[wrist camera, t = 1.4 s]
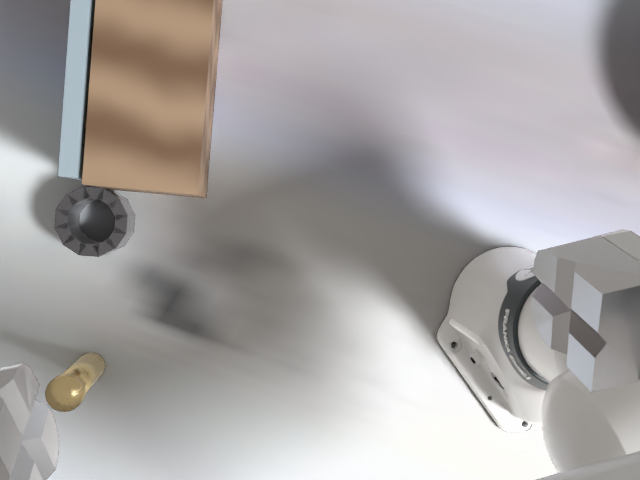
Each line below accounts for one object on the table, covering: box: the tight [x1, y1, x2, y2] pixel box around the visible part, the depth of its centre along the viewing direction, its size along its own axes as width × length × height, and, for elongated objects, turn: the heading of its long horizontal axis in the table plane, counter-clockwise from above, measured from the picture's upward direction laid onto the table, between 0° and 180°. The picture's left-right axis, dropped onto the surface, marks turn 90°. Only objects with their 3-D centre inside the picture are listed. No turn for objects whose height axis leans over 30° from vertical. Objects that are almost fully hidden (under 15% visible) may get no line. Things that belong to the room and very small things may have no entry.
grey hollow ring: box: [55, 185, 135, 257], centre depth 63 cm, size 10×7×4 cm, turn 175°
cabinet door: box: [58, 0, 95, 181], centre depth 57 cm, size 22×3×14 cm, turn 175°
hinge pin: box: [45, 353, 105, 412], centre depth 61 cm, size 3×3×10 cm
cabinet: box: [82, 0, 223, 198], centre depth 58 cm, size 22×10×14 cm, turn 175°
